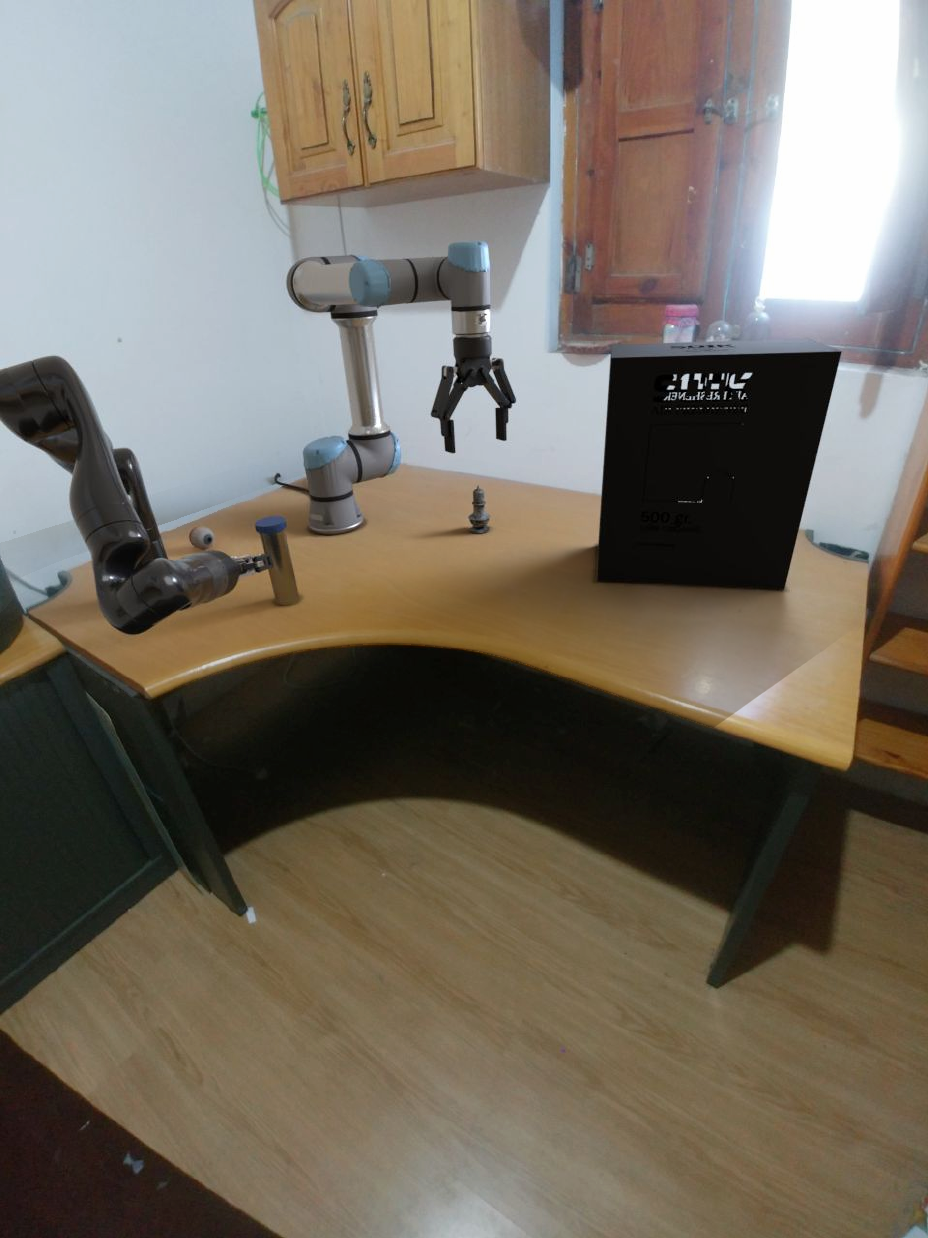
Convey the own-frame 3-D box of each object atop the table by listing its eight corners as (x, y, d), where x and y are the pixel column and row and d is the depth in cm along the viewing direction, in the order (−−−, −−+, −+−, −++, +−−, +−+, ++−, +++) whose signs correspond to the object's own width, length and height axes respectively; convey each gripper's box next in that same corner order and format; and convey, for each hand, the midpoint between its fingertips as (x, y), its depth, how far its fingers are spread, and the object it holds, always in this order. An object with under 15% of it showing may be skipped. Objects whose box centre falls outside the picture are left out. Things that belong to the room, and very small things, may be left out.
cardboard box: (763, 549, 141) (808, 338, 118) (784, 589, 124) (841, 351, 101) (598, 544, 148) (611, 344, 126) (596, 581, 131) (611, 357, 109)
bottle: (271, 602, 131) (252, 525, 122) (288, 592, 134) (271, 517, 125) (286, 607, 128) (268, 529, 119) (304, 597, 132) (288, 521, 123)
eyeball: (203, 554, 156) (196, 532, 153) (187, 550, 159) (181, 528, 156) (222, 546, 160) (216, 524, 157) (206, 542, 163) (200, 521, 160)
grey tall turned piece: (488, 533, 158) (487, 489, 152) (466, 533, 159) (464, 488, 153) (492, 525, 163) (491, 481, 157) (471, 524, 164) (469, 481, 158)
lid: (249, 531, 122) (248, 523, 122) (273, 521, 127) (271, 514, 126) (269, 536, 119) (268, 528, 119) (293, 526, 124) (291, 518, 123)
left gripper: (241, 544, 91) (276, 535, 107) (152, 561, 92) (200, 550, 108) (254, 592, 93) (286, 576, 109) (166, 608, 94) (211, 590, 110)
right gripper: (429, 342, 108) (437, 460, 118) (533, 329, 120) (532, 437, 131) (407, 340, 113) (417, 454, 124) (508, 328, 125) (510, 432, 136)
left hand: (243, 563), depth 109 cm, fingers open, 8 cm apart
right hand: (476, 445), depth 127 cm, fingers open, 13 cm apart
